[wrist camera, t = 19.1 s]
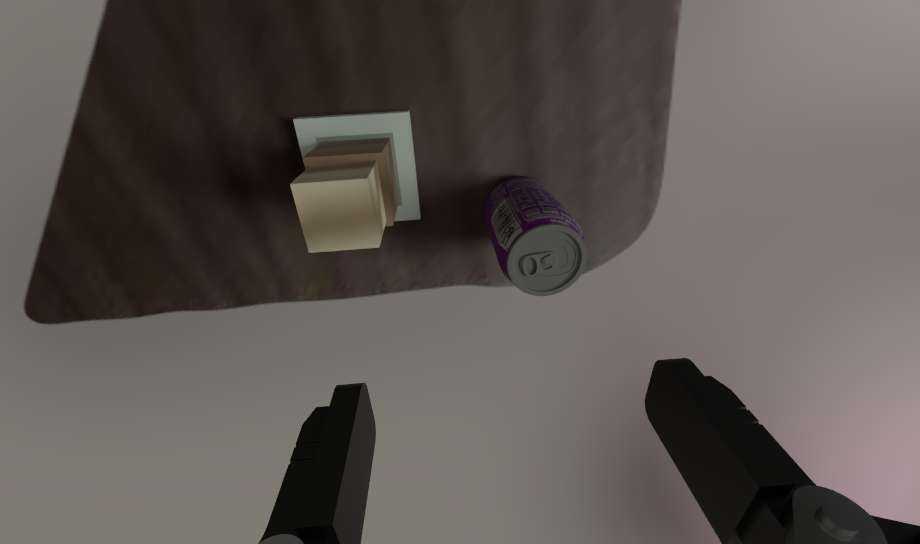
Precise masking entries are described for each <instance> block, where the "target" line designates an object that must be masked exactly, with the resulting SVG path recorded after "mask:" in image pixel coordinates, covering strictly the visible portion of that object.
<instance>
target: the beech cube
mask: <svg viewBox="0 0 920 544" xmlns="http://www.w3.org/2000/svg"><path fill="white" fill-rule="evenodd" d="M290 186H291V190H292V193H293V197H294V201H295V204H296V208H297V211H298V215H299V219H300V222H301V226H302V229H303V233H304V237H305V240H306V244H307V247H308V251H309V253H313V252H326V251H339V250H352V249H365V248H378V247H380V243H381V239H382V236H383V232H384V228H385V225H386V215H385V209H384V203H383V197H382V190H381V184H380V178H379V171H378V165H377V160H374V161H359V162H345V163H331V164H317V165H310V166H309V167H308V168H307V169H306V170H305V171H304V172H303V173H301V174H300V175H299V176H298V177H297V178H296V179H295V180H294V181H293V182H292V183H291V184H290Z"/></svg>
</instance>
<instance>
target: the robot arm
mask: <svg viewBox="0 0 920 544" xmlns="http://www.w3.org/2000/svg"><path fill="white" fill-rule="evenodd" d="M645 408H646V413H647V416H648V419H649V421H650V423H651V424H652V426H653V428H654V430H655V431H656V433H657V434H658V436H659V438H660V440H661V441H662V443H663V444H664V446H665V448H666V450H667V451H668V453H669V455H670V457H671V458H672V460H673V462H674V463H675V465H676V467H677V468H678V470H679V472H680V473H681V475H682V477H683V478H684V480H685V482H686V484H687V485H688V487H689V488H690V490H691V492H692V494H693V495H694V497H695V499H696V500H697V502H698V504H699V506H700V507H701V509H702V511H703V512H704V514H705V516H706V517H707V519H708V521H709V522H710V524H711V526H712V528H713V529H714V531H715V533H716V534H717V536H718V538H719V539H720V541H721V543H722V544H920V526H917V525H912V524H907V523H902V522H898V521H893V520H889V519H884V518H879V517H875V516H871V515H869V514H868V513H867V512H866V511H865V510H864V509H863V508H861V507H860V506H859V505H857V504H856V503H855V502H853V501H852V500H850V499H849V498H847V497H845V496H843V495H842V494H840V493H837V492H835V491H833V490H830V489H827V488H824V487H820V486H816V484H814V483H813V482H812V480H811V479H810V478H809V477H808V476H807V475H806V474H805V473H804V472H803V470H802V469H801V468H800V467H799V466H798V465H797V464H796V463H795V462H794V460H793V459H792V458H791V457H790V456H789V455H788V454H787V452H786V451H785V450H784V449H783V448H782V447H781V446H780V445H779V443H778V442H777V441H776V440H775V439H774V438H773V437H772V436H771V434H770V433H769V432H768V431H767V430H766V429H765V428H764V426H763V425H760V424H759V423H758V420H757V419H756V417H755V416H754V415H753V414H752V413H751V412H750V411H749V410H747V409H746V406H745V405H744V404H743V403H742V402H741V401H740V400H739V398H738V397H737V396H736V395H735V394H734V393H733V392H732V390H730V389H729V388H728V387H726V386H725V385H723V384H722V383H720V382H719V381H717V380H716V379H714V378H713V377H711V376H704V375H703V374H702V373H701V372H700V370H699V369H698V368H697V367H696V366H695V365H694V363H693V362H692V361H691V360H689V359H687V358H681V359H668V360H658V361H656V363H655V365H654V368H653V371H652V375H651V378H650V382H649V386H648V390H647V393H646V397H645ZM375 436H376V430H375V420H374V415H373V411H372V407H371V402H370V398H369V394H368V389H367V386H366V384H365V383H358V384H346V385H337V386H336V387H335V389H334V393H333V396H332V399H331V403H330V406H326V407H316V408H315V410H314V411H313V412H312V413H311V415H310V416H309V417H308V418H307V420H306V421H305V422H304V424H303V425H302V428H301V431H300V434H299V436H298V439H297V442H296V448H294V451H293V454H292V457H291V459H290V461H291V462H290V464H289V465H288V468H287V471H286V474H285V477H284V480H283V482H282V486H281V488H280V491H279V494H278V497H277V500H276V503H275V506H274V509H273V511H272V514H271V517H270V520H269V523H268V526H267V528H266V531H265V533H264V535H263V537H262V539H261V540H260V542H259V543H258V544H361V536H362V530H363V522H364V516H365V509H366V502H367V495H368V489H369V481H370V475H371V467H372V461H373V454H374V447H375Z"/></svg>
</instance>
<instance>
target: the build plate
mask: <svg viewBox="0 0 920 544" xmlns="http://www.w3.org/2000/svg"><path fill="white" fill-rule="evenodd" d="M293 122H294V126H295V130H296V134H297V138H298V142H299V146H300V150H301V154H302V158H303V157H304V156H305V155H306V154H308V153H309V152H310V151H311V150H313V149H314V148H315V147H316V146H318V145H319V144H320V143H322V142H329V141H345V140H360V139H376V138H390V143H391V150H392V158H393V165H394V172H395V180H396V187H397V195H398V206H397V210H396V215H395V219H394V221H405V220H419V219H420V217H421V214H420V204H419V195H418V186H417V177H416V167H415V158H414V149H413V139H412V130H411V121H410V112H409V110H408V111H392V112H376V113H360V114H344V115H328V116H312V117H297V118H295V119H293ZM303 162H304V161H303ZM304 166H305V165H304Z"/></svg>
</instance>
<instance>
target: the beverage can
mask: <svg viewBox="0 0 920 544" xmlns="http://www.w3.org/2000/svg"><path fill="white" fill-rule="evenodd" d="M484 218H485V222H486V225H487V228H488V231H489V234H490V238H491V241H492V244H493V247H494V250H495V253H496V256H497V259H498V262H499V265H500V267H501V270H502V271H503V273H504V274H505V276H506V277H507V278H508V279H509V280H510V281H512V282H513V283H514V285H515V286H516V287H517V288H519V289H520V290H522V291H523V292H525V293H528V294H531V295H536V296H548V295H552V294H556V293H559V292H561V291H563V290H565V289H567V288H568V287H570V286H571V285H572V284H573V283H574V282H576V280H577V279H578V278H579V277H580V275H581V274H582V272H583V270H584V268H585V265H586V261H587V249H586V246H585V240H584V235H583V232H582V230H581V228H580V226H579V225H578V223H577V222H576V221H575V220H574V219H573V217H572V216H571V215H570V214H569V213H568V212H567V210H566V209H565V208H564V207H563V206H562V205H561V204H560V202H559V201H558V200H557V199H556V198H555V197H554V195H553V194H552V193H551V192H550V191H549V190H548V188H547V187H546V186H545V185H544V184H543V183H542V182H540V181H538V180H537V179H534V178H531V177H527V176H518V177H512V178H509V179H507V180H505V181H503V182H501V183H500V184H498V185H497V186H496V187H495V188H494V189H493V190H492V191H491V193H490V194H489V196H488V198H487V200H486V203H485V207H484Z"/></svg>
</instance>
